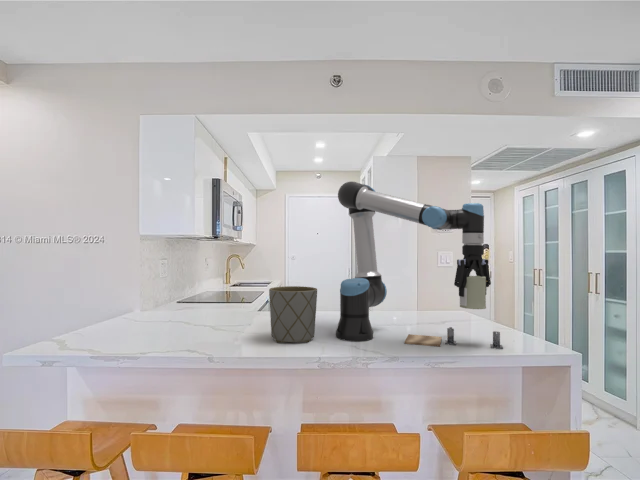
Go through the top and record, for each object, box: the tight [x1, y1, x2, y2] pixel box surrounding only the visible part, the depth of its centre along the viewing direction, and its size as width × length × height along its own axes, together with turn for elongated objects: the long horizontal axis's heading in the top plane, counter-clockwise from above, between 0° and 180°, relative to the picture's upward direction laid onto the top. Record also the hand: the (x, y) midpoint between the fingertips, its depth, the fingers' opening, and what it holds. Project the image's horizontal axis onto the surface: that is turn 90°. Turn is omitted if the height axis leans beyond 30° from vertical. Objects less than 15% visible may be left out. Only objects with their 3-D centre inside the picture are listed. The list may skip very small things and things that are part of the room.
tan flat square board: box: [404, 333, 443, 348], centre depth 151 cm, size 13×13×1 cm
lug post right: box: [489, 330, 504, 350], centre depth 142 cm, size 4×5×6 cm
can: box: [459, 275, 487, 310], centre depth 145 cm, size 9×9×12 cm
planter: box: [268, 285, 318, 344], centre depth 154 cm, size 19×19×20 cm
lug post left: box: [444, 326, 457, 346], centre depth 148 cm, size 4×5×6 cm
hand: (472, 304), depth 145 cm, fingers closed on can, 9 cm apart
